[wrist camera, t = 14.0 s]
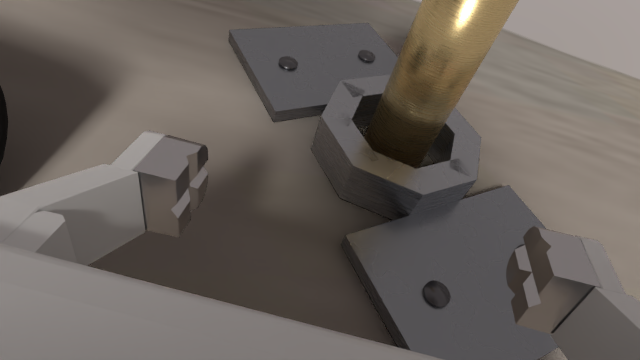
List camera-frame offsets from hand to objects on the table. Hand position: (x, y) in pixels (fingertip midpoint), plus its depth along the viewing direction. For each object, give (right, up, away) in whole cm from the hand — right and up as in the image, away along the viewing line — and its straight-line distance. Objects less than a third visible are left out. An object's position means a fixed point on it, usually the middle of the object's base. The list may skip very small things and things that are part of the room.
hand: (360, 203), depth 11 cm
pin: (+3, +2, +14) cm, 15 cm away
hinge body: (+3, +2, +14) cm, 15 cm away
